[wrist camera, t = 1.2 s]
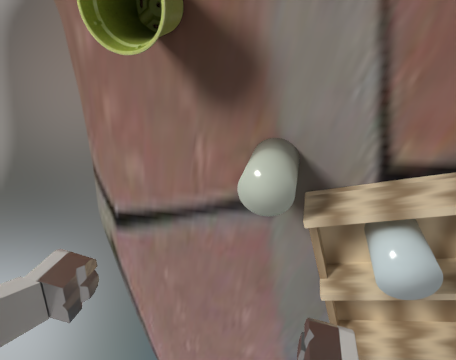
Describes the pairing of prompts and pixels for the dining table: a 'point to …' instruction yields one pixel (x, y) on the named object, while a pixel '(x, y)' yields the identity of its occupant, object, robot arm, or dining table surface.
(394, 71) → the dining table surface
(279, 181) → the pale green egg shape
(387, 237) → the pale blue-grey rounded dome
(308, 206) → the rack
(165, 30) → the plant pot
